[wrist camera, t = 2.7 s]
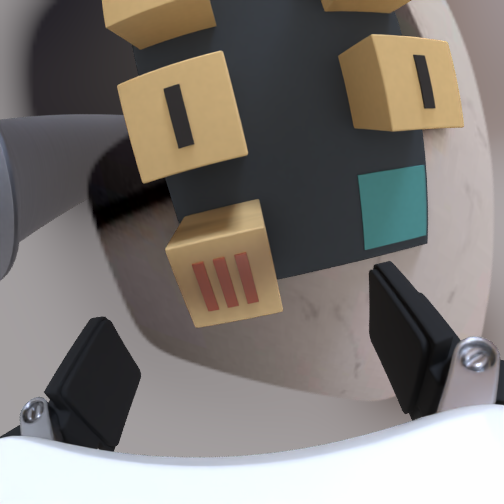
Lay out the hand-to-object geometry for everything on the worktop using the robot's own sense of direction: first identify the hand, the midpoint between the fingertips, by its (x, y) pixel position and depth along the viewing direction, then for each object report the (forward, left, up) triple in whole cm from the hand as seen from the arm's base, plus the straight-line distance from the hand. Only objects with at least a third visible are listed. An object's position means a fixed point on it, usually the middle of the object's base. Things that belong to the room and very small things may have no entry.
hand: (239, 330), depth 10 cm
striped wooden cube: (-1, 0, -8) cm, 8 cm away
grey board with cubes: (+2, +8, -8) cm, 12 cm away
